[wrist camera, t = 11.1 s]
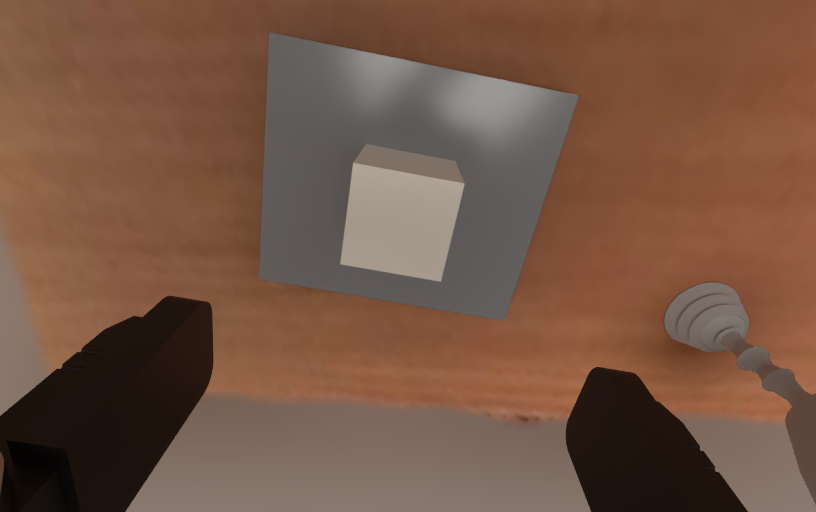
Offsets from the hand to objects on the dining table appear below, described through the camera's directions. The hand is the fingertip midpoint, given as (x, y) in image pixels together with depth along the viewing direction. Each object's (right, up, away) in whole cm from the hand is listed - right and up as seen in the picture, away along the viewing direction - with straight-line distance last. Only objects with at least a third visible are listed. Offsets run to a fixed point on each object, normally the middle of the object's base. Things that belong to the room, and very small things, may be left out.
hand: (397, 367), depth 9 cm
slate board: (0, +7, +17) cm, 18 cm away
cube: (0, +6, +15) cm, 16 cm away
